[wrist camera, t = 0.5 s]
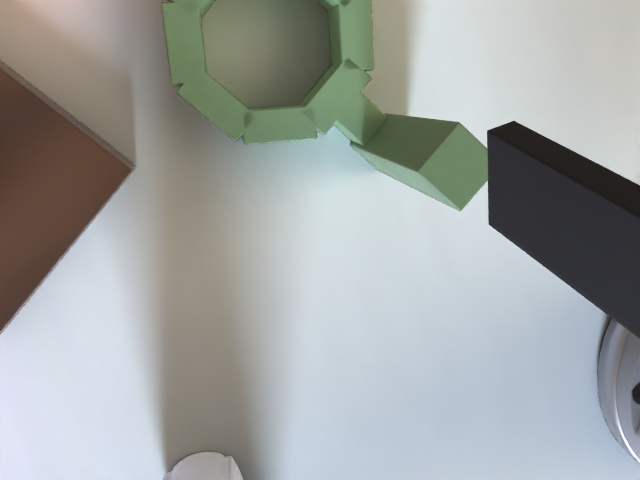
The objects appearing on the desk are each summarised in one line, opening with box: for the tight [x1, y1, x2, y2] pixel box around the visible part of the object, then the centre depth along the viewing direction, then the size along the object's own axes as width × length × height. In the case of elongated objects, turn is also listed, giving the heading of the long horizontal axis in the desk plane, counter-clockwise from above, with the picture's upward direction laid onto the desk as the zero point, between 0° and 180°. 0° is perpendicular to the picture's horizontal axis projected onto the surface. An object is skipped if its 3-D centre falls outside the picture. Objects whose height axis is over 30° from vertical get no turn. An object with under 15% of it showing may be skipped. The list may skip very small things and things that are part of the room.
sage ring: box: [161, 0, 488, 211], centre depth 23 cm, size 12×8×10 cm
